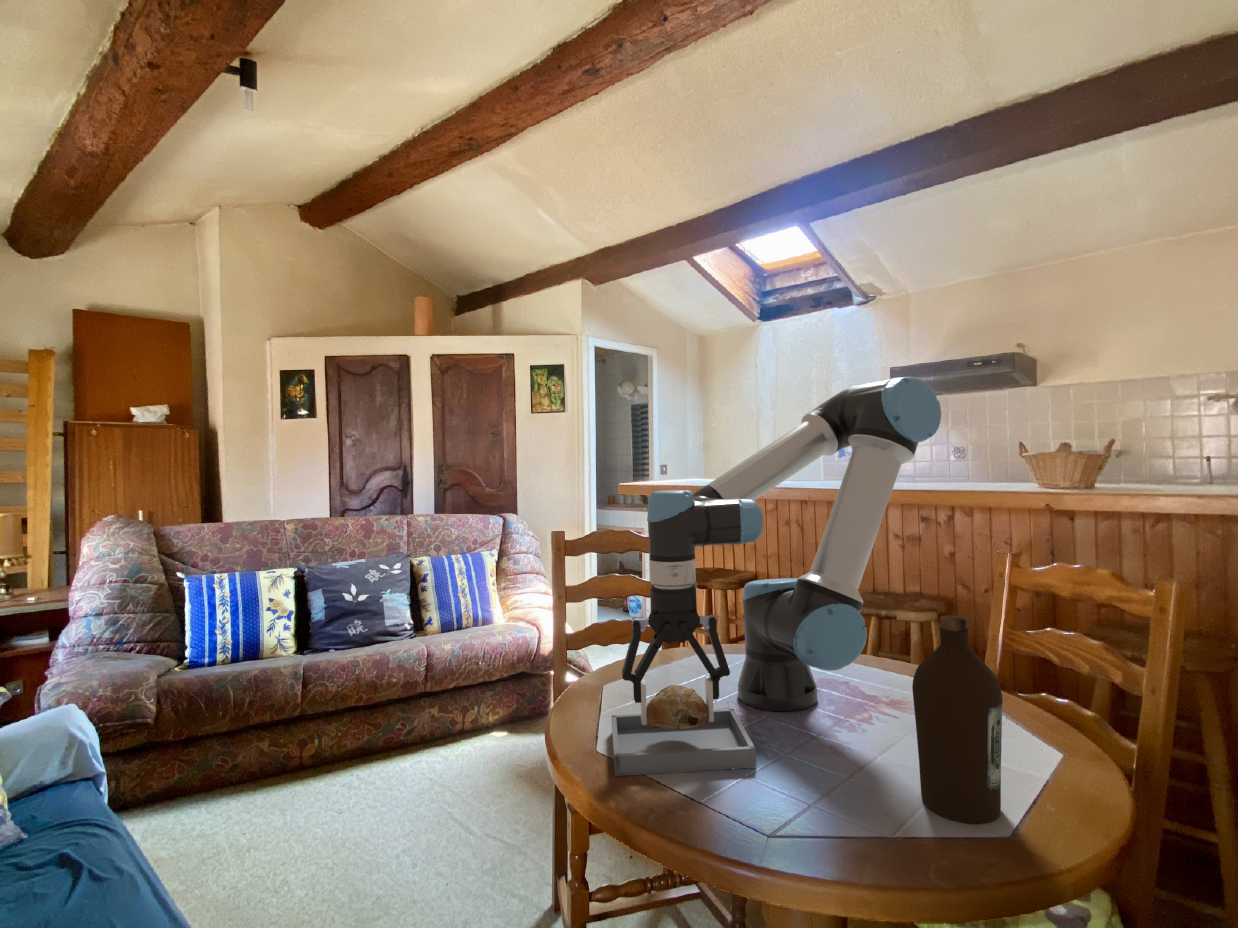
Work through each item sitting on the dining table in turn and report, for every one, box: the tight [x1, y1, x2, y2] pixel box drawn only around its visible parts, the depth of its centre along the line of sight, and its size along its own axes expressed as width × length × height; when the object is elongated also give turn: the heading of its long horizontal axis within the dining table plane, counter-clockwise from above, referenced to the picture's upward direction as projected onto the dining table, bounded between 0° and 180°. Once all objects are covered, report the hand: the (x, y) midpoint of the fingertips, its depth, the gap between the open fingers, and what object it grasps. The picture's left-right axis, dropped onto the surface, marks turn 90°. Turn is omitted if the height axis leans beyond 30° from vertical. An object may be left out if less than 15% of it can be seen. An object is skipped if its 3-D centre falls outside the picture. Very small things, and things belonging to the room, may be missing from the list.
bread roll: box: [646, 684, 709, 730], centre depth 105 cm, size 10×10×8 cm
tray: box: [611, 708, 757, 777], centre depth 106 cm, size 22×16×3 cm
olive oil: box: [911, 615, 1004, 824], centre depth 86 cm, size 11×11×25 cm
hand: (676, 720), depth 106 cm, fingers closed on bread roll, 10 cm apart
